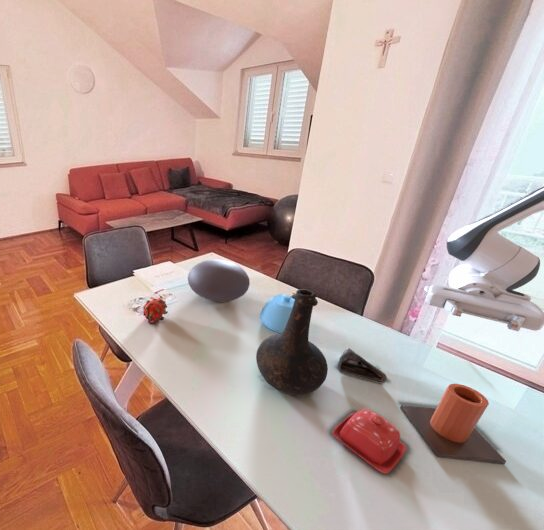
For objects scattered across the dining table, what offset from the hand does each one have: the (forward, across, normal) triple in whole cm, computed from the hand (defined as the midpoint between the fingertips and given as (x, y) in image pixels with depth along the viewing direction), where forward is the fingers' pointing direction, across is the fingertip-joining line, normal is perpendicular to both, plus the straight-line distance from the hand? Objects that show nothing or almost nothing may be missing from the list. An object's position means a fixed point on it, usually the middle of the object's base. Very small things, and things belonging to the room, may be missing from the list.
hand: (485, 320), depth 71 cm
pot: (+12, 0, +24) cm, 27 cm away
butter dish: (+27, -15, +25) cm, 39 cm away
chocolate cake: (0, -19, +25) cm, 31 cm away
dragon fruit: (+15, -82, +25) cm, 87 cm away
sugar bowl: (-10, -44, +25) cm, 51 cm away
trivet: (+12, 0, +25) cm, 28 cm away
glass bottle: (+17, -35, +25) cm, 46 cm away
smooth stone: (-15, -71, +25) cm, 77 cm away
